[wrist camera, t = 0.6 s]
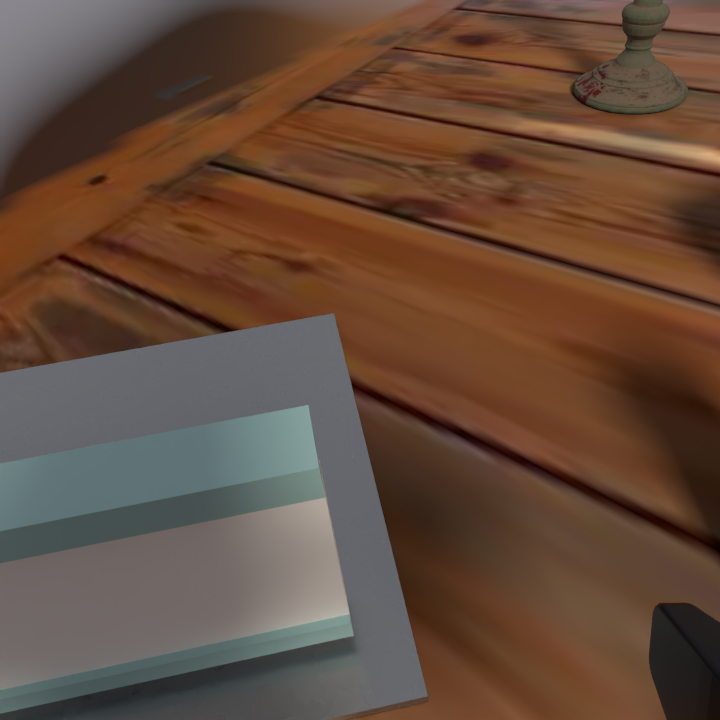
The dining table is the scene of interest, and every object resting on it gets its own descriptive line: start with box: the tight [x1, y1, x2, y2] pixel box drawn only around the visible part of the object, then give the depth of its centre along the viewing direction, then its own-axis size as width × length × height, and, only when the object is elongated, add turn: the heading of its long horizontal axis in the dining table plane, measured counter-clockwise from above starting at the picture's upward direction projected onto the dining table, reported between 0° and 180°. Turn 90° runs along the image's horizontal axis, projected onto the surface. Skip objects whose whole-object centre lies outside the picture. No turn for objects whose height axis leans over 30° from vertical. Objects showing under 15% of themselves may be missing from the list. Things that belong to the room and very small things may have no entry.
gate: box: [0, 405, 354, 714], centre depth 18 cm, size 17×2×10 cm, turn 101°
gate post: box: [0, 313, 428, 720], centre depth 23 cm, size 24×20×12 cm
